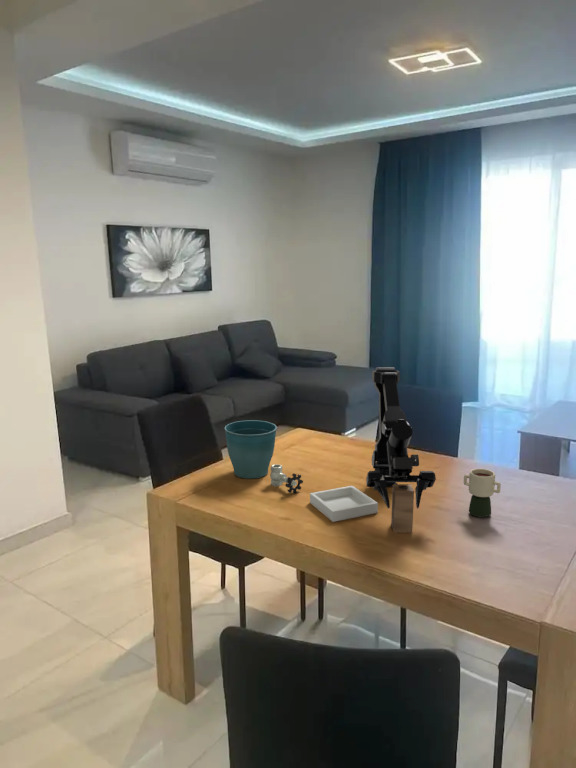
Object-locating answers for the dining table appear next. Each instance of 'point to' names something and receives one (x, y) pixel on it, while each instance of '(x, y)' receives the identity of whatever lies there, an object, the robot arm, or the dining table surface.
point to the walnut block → (402, 507)
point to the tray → (343, 503)
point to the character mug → (481, 491)
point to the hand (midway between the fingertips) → (403, 507)
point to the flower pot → (250, 447)
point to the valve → (284, 478)
